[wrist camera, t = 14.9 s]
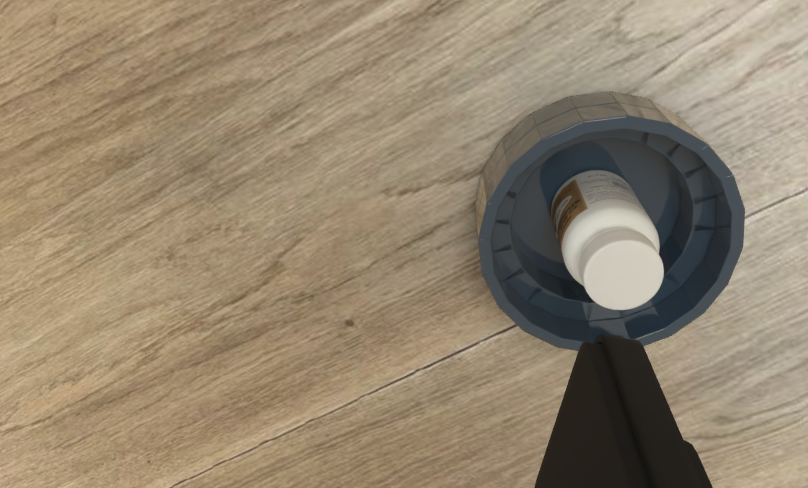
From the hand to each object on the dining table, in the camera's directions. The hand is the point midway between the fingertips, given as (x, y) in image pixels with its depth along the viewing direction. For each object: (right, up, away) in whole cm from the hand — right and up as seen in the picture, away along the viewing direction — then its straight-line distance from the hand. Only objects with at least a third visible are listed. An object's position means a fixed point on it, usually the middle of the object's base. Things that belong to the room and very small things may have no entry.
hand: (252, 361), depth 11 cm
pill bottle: (+12, +4, +28) cm, 31 cm away
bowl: (+12, +4, +29) cm, 32 cm away
